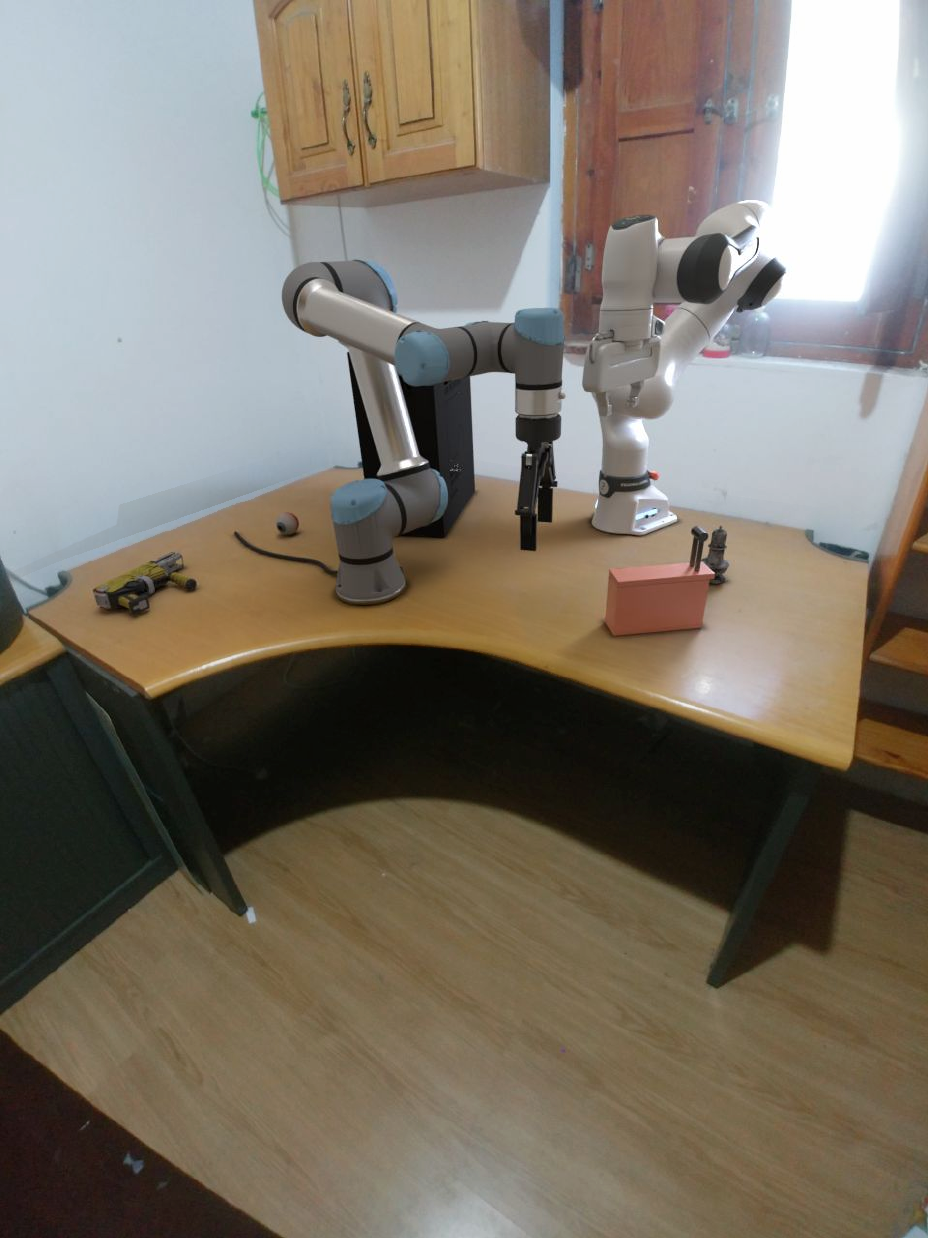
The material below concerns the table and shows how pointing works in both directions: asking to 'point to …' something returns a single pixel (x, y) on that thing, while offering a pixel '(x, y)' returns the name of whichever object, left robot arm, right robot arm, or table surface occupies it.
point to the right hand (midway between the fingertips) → (618, 410)
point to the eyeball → (287, 523)
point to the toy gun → (141, 584)
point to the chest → (655, 607)
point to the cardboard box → (430, 441)
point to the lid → (667, 568)
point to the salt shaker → (717, 555)
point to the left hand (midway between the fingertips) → (537, 535)
